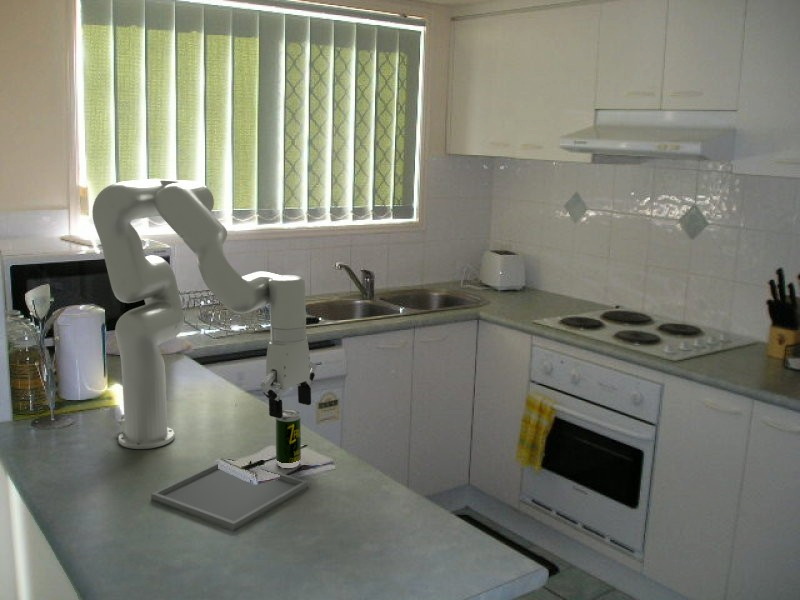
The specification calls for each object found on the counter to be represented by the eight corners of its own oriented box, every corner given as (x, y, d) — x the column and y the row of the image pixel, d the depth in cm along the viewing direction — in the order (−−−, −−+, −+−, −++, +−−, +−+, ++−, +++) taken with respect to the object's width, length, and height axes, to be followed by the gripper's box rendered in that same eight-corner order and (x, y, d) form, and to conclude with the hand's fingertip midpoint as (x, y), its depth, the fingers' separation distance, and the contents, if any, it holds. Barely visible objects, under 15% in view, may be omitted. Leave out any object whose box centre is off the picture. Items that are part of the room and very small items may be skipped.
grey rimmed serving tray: (151, 500, 164) (151, 493, 164) (229, 463, 182) (228, 456, 182) (234, 531, 153) (234, 523, 153) (308, 488, 171) (308, 481, 171)
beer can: (271, 465, 182) (270, 414, 179) (286, 457, 186) (285, 406, 184) (290, 471, 179) (290, 419, 176) (305, 462, 184) (305, 411, 181)
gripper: (300, 323, 185) (302, 396, 189) (247, 340, 171) (250, 418, 174) (327, 327, 181) (328, 402, 185) (275, 345, 167) (278, 425, 171)
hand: (290, 410), depth 180 cm, fingers open, 9 cm apart
